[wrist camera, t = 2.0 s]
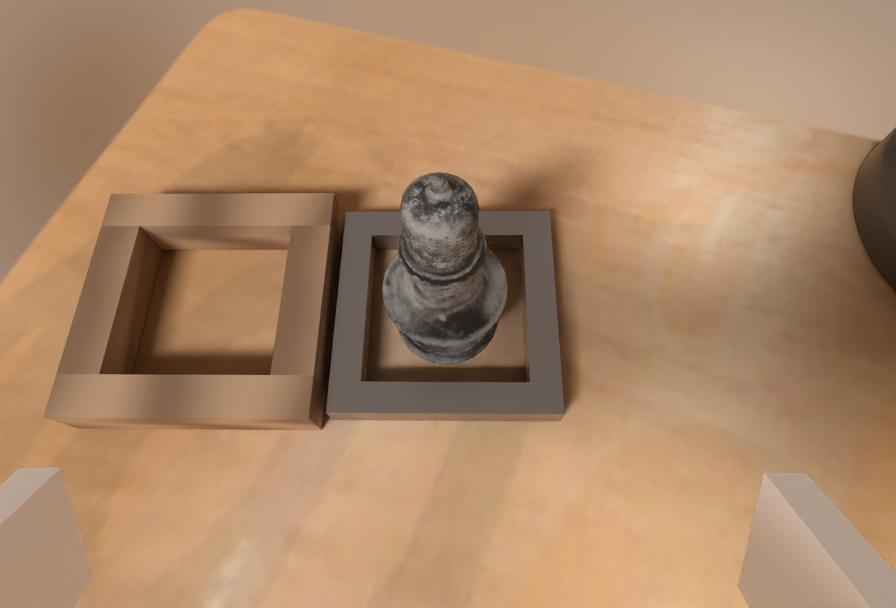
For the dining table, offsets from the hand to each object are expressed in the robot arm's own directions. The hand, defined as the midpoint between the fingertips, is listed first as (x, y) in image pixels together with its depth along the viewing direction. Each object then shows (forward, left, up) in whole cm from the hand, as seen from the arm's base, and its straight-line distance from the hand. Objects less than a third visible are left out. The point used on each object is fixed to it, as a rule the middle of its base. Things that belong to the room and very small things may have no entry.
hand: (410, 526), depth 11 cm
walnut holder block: (+12, -11, -16) cm, 22 cm away
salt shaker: (0, -11, -16) cm, 19 cm away
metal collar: (0, -11, -16) cm, 19 cm away
